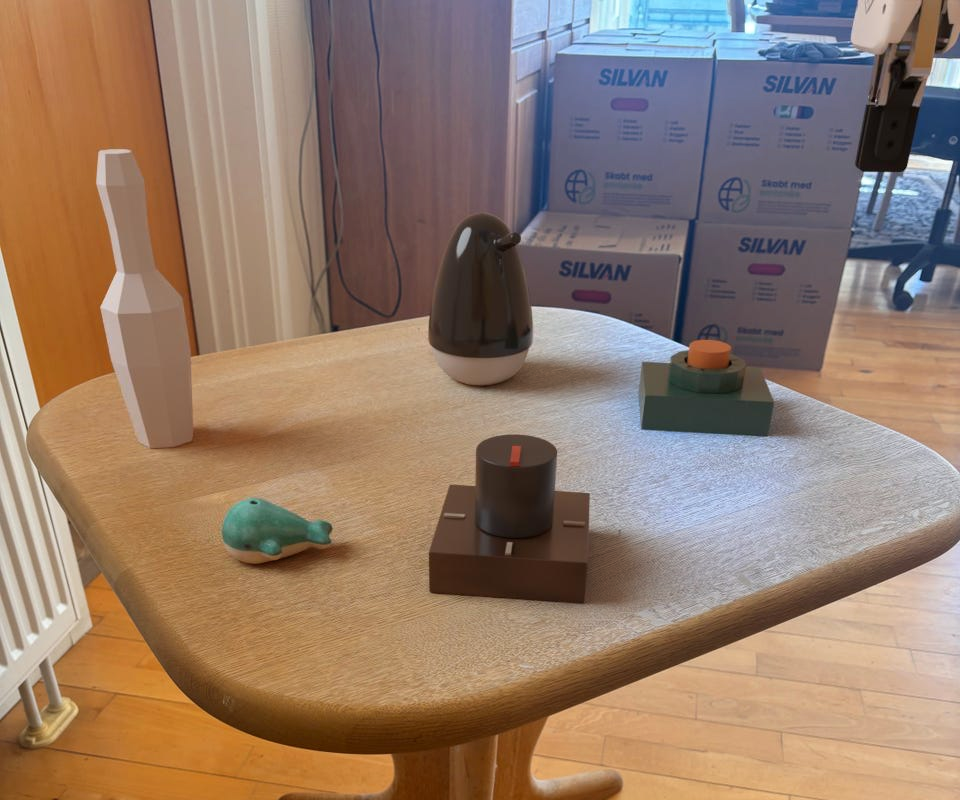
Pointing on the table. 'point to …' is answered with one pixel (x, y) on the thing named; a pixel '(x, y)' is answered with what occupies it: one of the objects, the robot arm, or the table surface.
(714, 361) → the orange push button
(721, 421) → the green button base
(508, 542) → the dial panel
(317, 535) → the whale figurine
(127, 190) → the low poly bottle
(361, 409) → the table surface
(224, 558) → the table surface
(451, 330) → the pump dispenser
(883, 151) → the robot arm
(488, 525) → the dial
